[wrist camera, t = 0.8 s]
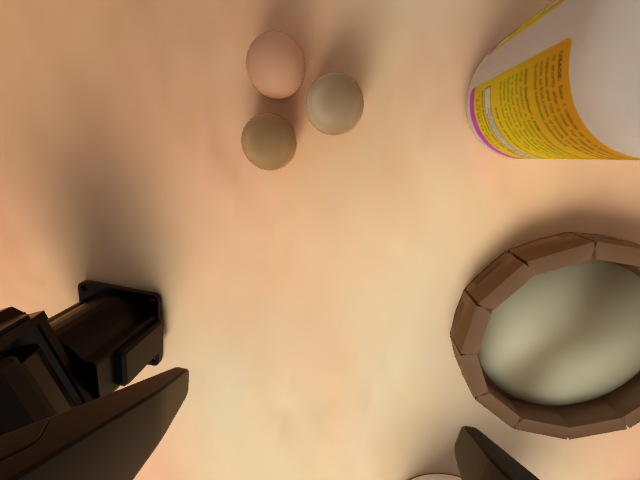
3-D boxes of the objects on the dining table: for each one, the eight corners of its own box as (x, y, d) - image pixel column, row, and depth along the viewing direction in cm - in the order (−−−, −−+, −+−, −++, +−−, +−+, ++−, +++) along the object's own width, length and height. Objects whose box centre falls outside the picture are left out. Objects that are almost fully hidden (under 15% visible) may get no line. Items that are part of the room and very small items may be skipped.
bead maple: (306, 133, 18) (298, 128, 15) (313, 76, 18) (306, 60, 15) (357, 140, 18) (358, 137, 15) (367, 84, 17) (370, 69, 14)
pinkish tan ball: (254, 99, 18) (235, 88, 15) (259, 40, 17) (239, 15, 14) (305, 106, 18) (295, 96, 15) (312, 47, 17) (303, 24, 14)
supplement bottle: (539, 176, 18) (954, 224, 6) (440, 131, 18) (643, 79, 5) (615, 60, 16) (1516, -260, 4) (504, 8, 16) (1048, -508, 3)
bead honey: (249, 165, 19) (231, 167, 16) (253, 113, 18) (234, 105, 15) (297, 172, 19) (287, 175, 16) (303, 120, 18) (294, 113, 15)
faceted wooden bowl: (430, 391, 23) (438, 415, 21) (485, 216, 19) (502, 224, 17) (617, 427, 22) (645, 456, 20) (717, 254, 18) (765, 266, 16)
